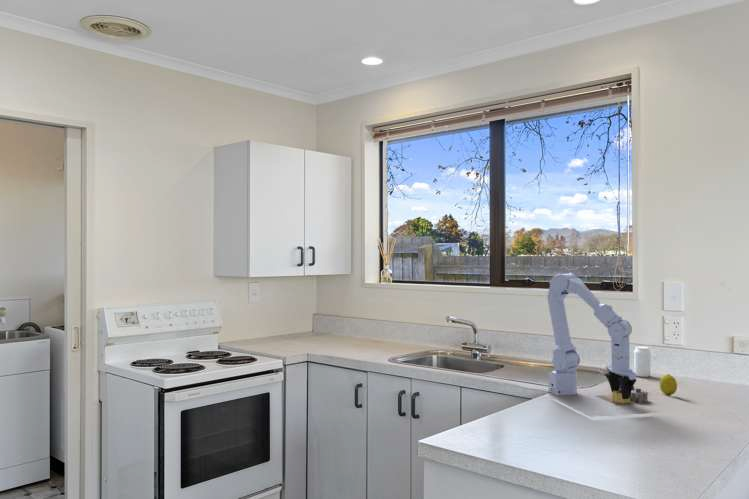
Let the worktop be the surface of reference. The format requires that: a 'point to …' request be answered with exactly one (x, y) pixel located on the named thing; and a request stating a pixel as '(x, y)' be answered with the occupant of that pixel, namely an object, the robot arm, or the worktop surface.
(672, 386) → the lemon
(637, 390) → the gear board
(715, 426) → the worktop surface
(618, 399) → the gear
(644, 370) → the beverage can
